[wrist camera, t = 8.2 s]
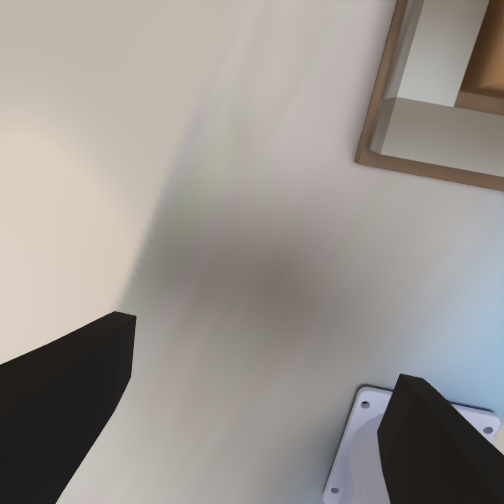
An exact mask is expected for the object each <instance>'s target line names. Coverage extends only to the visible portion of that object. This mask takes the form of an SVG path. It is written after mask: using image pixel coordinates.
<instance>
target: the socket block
mask: <svg viewBox="0 0 504 504" xmlns="http://www.w3.org/2000/svg"><path fill="white" fill-rule="evenodd" d="M488 3H489V0H397V4H396V8H395V12H394V16H393V19H392V23H391V27H390V31H389V34H388V38H387V42H386V46H385V50H384V53H383V57H382V61H381V65H380V69H379V72H378V76H377V80H376V84H375V87H374V91H373V95H372V99H371V103H370V106H369V110H368V114H367V118H366V121H365V125H364V129H363V133H362V137H361V140H360V144H359V148H358V152H357V155H356V159H355V162H356V163H358V164H361V165H366V166H372V167H377V168H382V169H388V170H393V171H398V172H404V173H409V174H414V175H420V176H425V177H430V178H436V179H441V180H447V181H452V182H457V183H463V184H468V185H473V186H479V187H484V188H489V189H495V190H500V191H504V99H499V98H494V97H488V96H482V95H477V94H471V93H465V92H460V91H459V89H460V86H461V83H462V80H463V77H464V74H465V71H466V68H467V65H468V62H469V59H470V56H471V53H472V50H473V47H474V44H475V42H476V39H477V36H478V33H479V30H480V27H481V24H482V21H483V18H484V15H485V12H486V9H487V6H488Z"/></svg>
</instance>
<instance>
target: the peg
mask: <svg viewBox="0 0 504 504" xmlns="http://www.w3.org/2000/svg"><path fill="white" fill-rule="evenodd" d="M459 91H460V92H465V93H471V94H477V95H482V96H488V97H494V98H499V99H504V0H489V3H488V6H487V9H486V12H485V15H484V18H483V21H482V24H481V27H480V30H479V33H478V36H477V39H476V42H475V44H474V47H473V50H472V53H471V56H470V59H469V62H468V65H467V68H466V71H465V74H464V77H463V80H462V83H461V86H460V89H459Z"/></svg>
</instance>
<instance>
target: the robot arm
mask: <svg viewBox="0 0 504 504" xmlns="http://www.w3.org/2000/svg"><path fill="white" fill-rule="evenodd" d="M135 327H136V316H134V315H130V314H125V313H121V312H116V311H114V312H112V313H109V314H107V315H105V316H103V317H101V318H99V319H97V320H95V321H93V322H91V323H89V324H87V325H85V326H83V327H81V328H79V329H77V330H75V331H73V332H71V333H69V334H67V335H65V336H63V337H61V338H59V339H57V340H55V341H53V342H51V343H49V344H47V345H44V346H42V347H40V348H37V349H35V350H33V351H31V352H28V353H26V354H24V355H21V356H19V357H17V358H15V359H12V360H10V361H8V362H5V363H3V364H1V365H0V504H56V502H57V500H58V499H59V497H60V495H61V494H62V492H63V490H64V489H65V487H66V486H67V484H68V483H69V481H70V480H71V478H72V477H73V475H74V473H75V472H76V470H77V469H78V467H79V466H80V464H81V463H82V461H83V459H84V458H85V456H86V455H87V453H88V452H89V450H90V449H91V447H92V446H93V444H94V443H95V441H96V439H97V438H98V436H99V435H100V433H101V432H102V430H103V428H104V427H105V425H106V424H107V422H108V421H109V419H110V417H111V416H112V414H113V413H114V411H115V409H116V407H117V405H118V403H119V401H120V399H121V397H122V395H123V393H124V391H125V389H126V387H127V384H128V382H129V380H130V378H131V371H132V360H133V349H134V338H135ZM364 401H367V402H368V403H366V404H362V402H364ZM500 424H501V421H500V419H499V417H498V416H497V415H496V414H495V413H493V412H488V411H483V410H479V409H474V408H469V407H464V406H459V405H454V404H450V403H449V402H448V401H447V400H446V399H445V398H444V397H443V396H442V395H441V394H440V393H439V392H438V391H437V390H436V389H435V388H433V387H432V386H431V385H430V384H429V383H428V382H427V381H425V380H424V379H423V378H418V377H414V376H409V375H405V374H400V375H399V378H398V380H397V383H396V385H395V388H394V390H393V392H391V391H386V390H381V389H376V388H372V387H363V388H361V389H360V390H359V391H358V393H357V396H356V399H355V402H354V405H353V408H352V411H351V414H350V417H349V420H348V423H347V426H346V429H345V432H344V434H343V437H342V440H341V443H340V446H339V449H338V452H337V455H336V458H335V461H334V464H333V467H332V470H331V473H330V476H329V479H328V481H327V484H326V487H325V490H324V493H323V502H324V503H325V504H504V455H503V454H502V453H501V452H499V450H497V449H496V448H495V447H494V446H493V445H492V444H491V441H492V439H493V437H494V436H495V434H496V432H497V430H498V428H499V426H500ZM486 427H488V428H486ZM484 428H486V429H484Z"/></svg>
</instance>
